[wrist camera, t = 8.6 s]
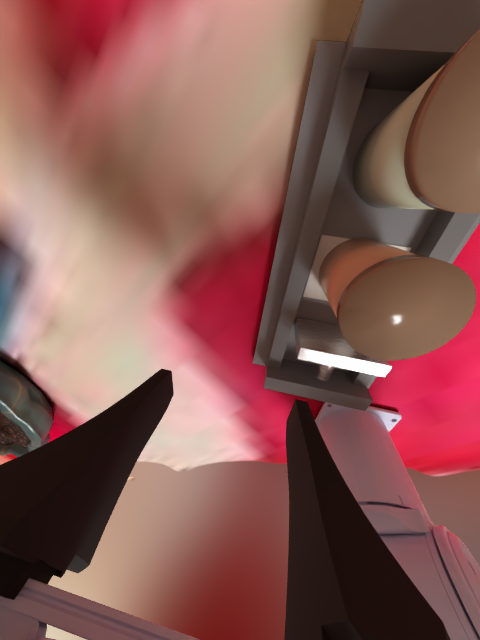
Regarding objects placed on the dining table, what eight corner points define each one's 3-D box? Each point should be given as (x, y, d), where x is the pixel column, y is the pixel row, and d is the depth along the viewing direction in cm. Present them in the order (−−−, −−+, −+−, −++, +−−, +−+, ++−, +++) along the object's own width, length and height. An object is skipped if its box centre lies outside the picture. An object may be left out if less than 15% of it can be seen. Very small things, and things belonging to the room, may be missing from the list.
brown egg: (418, 215, 13) (547, 222, 7) (338, 205, 13) (388, 202, 7) (475, 105, 10) (775, -52, 4) (373, 97, 10) (500, -55, 4)
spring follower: (349, 364, 19) (366, 403, 15) (286, 351, 19) (287, 386, 16) (367, 330, 17) (392, 366, 13) (296, 317, 17) (301, 348, 14)
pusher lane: (365, 382, 21) (381, 414, 17) (253, 358, 22) (248, 384, 19) (569, 66, 9) (719, -8, 6) (315, 51, 11) (330, -18, 7)
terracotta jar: (370, 308, 16) (425, 370, 10) (308, 295, 16) (325, 347, 10) (406, 243, 13) (511, 273, 7) (332, 230, 14) (372, 248, 8)
